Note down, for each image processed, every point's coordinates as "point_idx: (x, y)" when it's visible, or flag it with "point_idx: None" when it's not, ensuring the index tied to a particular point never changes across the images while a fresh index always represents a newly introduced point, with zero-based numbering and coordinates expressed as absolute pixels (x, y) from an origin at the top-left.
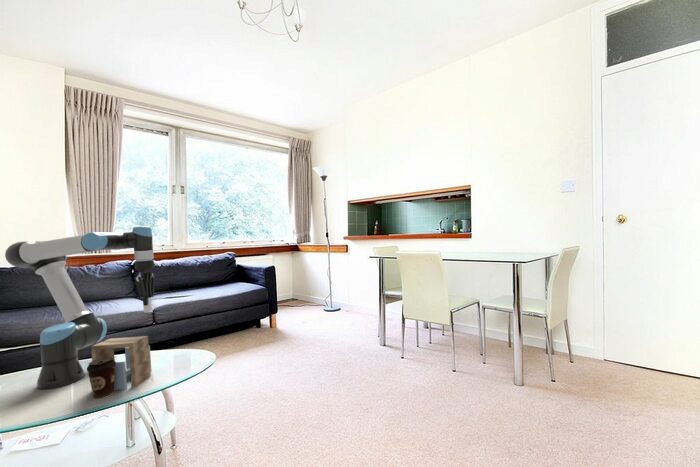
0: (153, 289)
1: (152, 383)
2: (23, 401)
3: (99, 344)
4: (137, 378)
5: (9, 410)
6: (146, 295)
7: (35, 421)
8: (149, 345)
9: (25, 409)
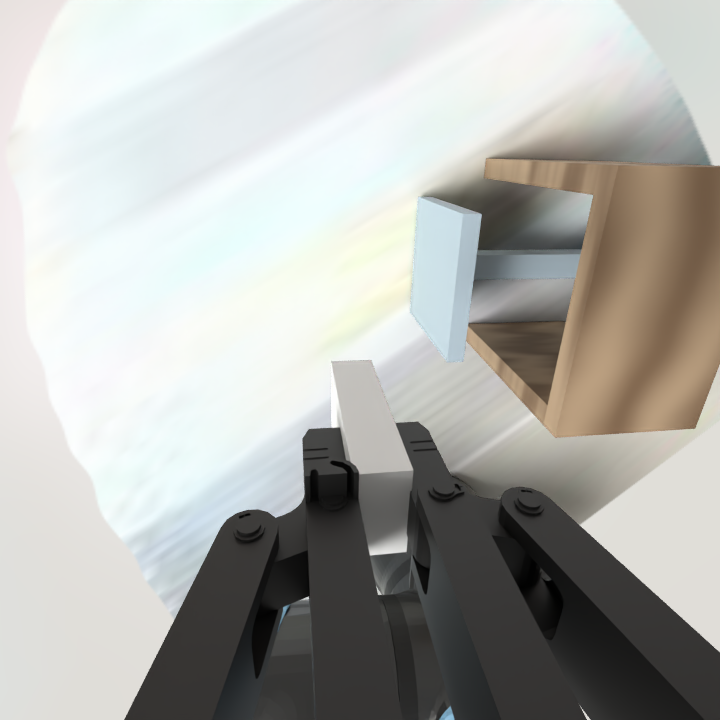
0: (213, 614)
1: (578, 94)
2: (561, 505)
3: (680, 404)
4: (603, 161)
5: (617, 489)
6: (478, 513)
7: None
8: (465, 215)
9: (631, 450)
